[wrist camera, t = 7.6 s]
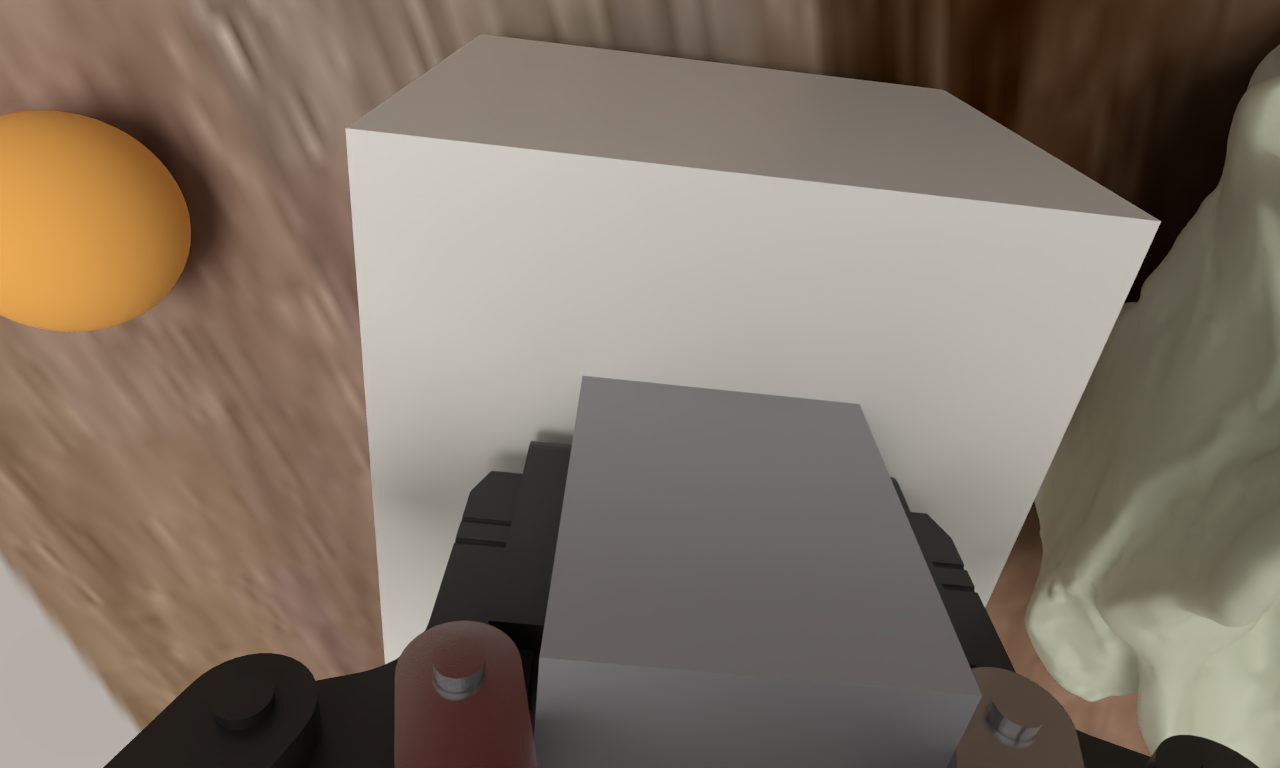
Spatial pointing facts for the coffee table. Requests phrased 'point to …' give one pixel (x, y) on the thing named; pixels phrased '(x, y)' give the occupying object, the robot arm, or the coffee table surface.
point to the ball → (84, 223)
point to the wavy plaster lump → (1181, 477)
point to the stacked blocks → (723, 381)
